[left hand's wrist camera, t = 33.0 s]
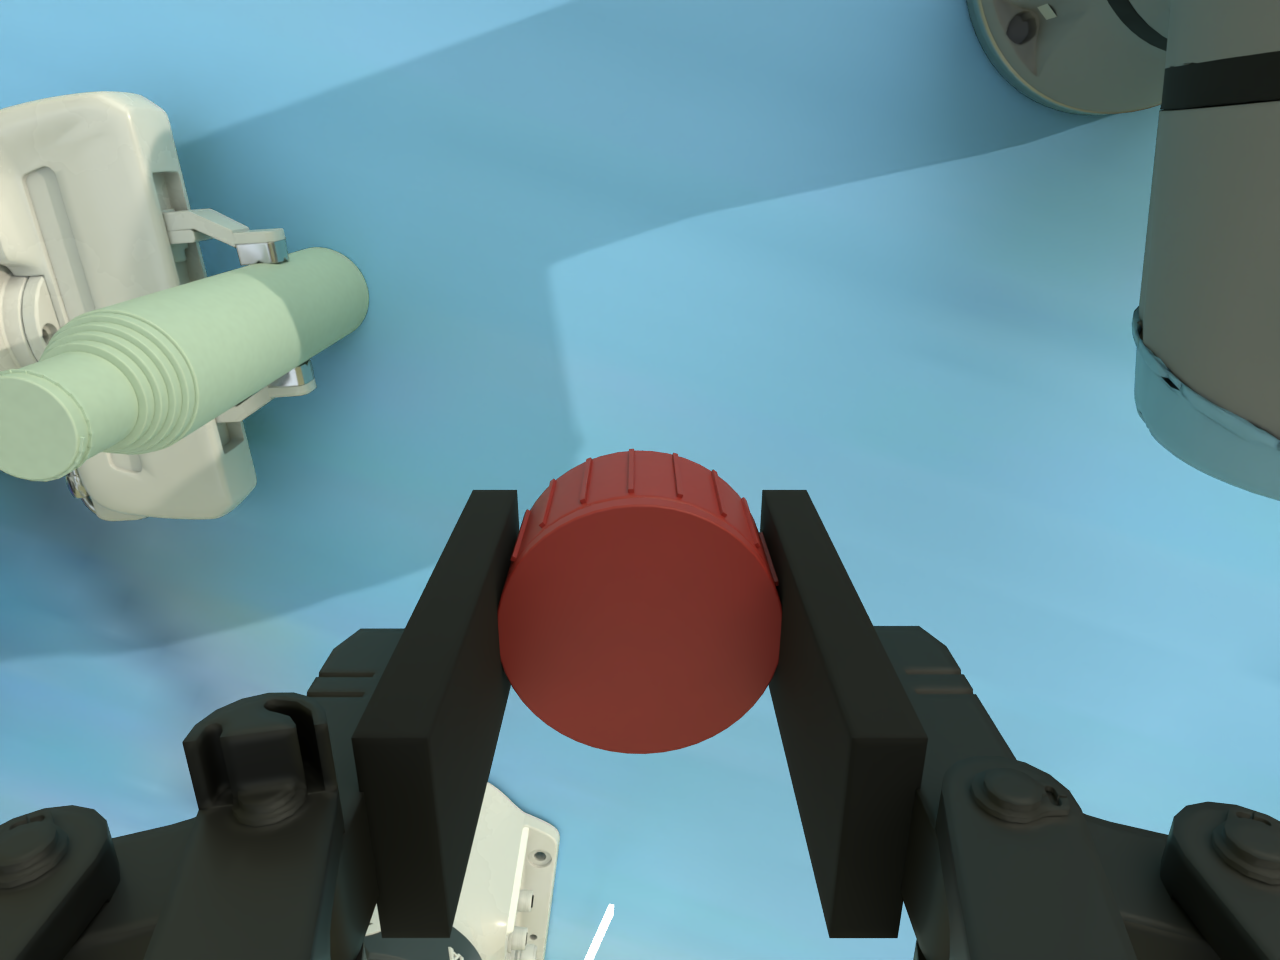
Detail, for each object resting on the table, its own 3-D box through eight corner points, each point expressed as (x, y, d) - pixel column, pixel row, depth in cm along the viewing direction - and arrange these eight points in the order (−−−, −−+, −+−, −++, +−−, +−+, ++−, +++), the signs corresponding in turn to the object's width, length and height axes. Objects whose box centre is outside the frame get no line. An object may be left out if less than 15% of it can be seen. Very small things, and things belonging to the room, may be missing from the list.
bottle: (271, 323, 47) (-73, 483, 24) (285, 234, 45) (-72, 318, 23) (360, 349, 48) (104, 531, 25) (377, 263, 46) (118, 373, 23)
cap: (806, 495, 14) (837, 558, 12) (709, 699, 16) (721, 788, 14) (561, 410, 14) (545, 459, 11) (483, 629, 15) (457, 711, 13)
